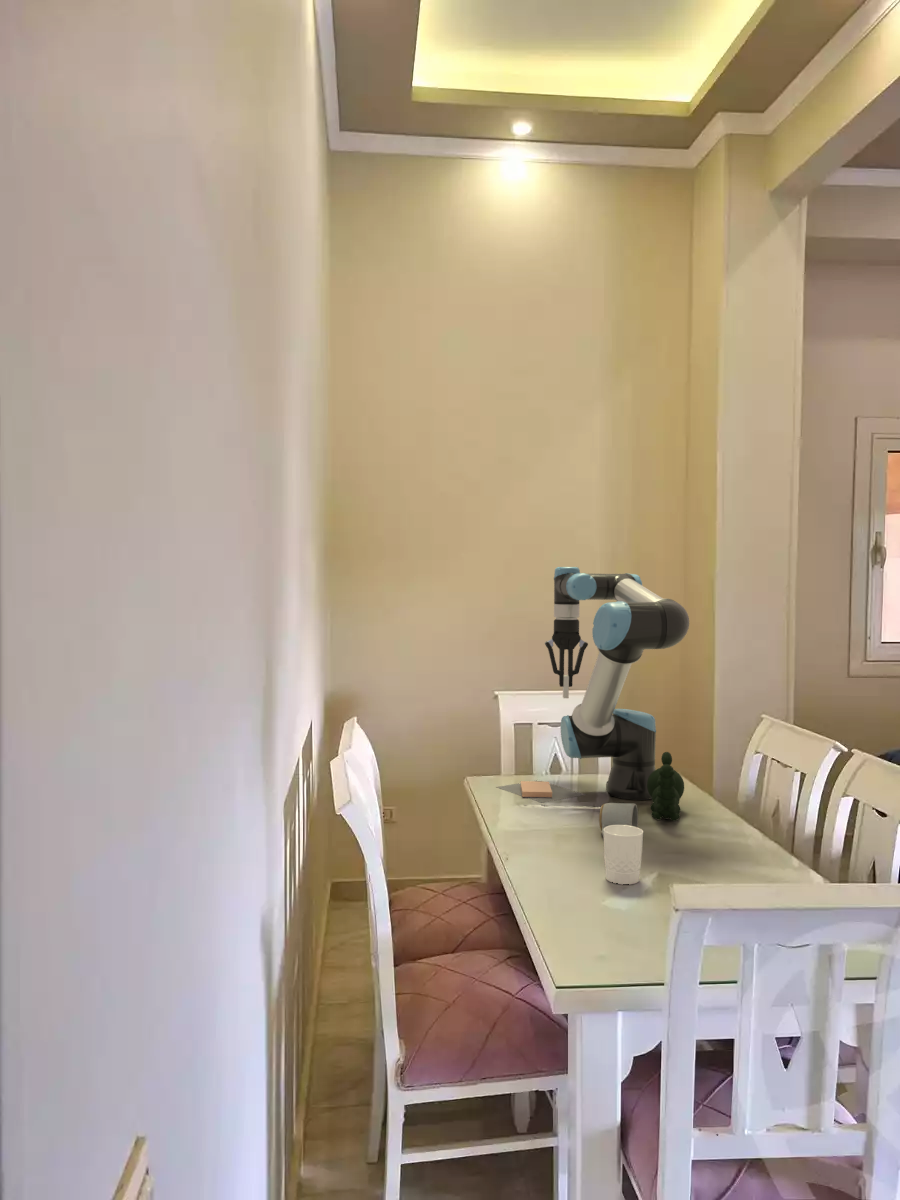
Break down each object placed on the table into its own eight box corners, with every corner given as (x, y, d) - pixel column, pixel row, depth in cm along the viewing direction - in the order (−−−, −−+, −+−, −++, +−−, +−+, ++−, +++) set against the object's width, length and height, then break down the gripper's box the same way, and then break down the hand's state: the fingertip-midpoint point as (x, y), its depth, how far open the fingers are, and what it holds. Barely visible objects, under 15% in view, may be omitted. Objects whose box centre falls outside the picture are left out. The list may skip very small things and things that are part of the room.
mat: (586, 797, 246) (586, 794, 246) (541, 805, 237) (541, 802, 237) (539, 782, 262) (539, 780, 262) (495, 789, 253) (495, 787, 253)
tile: (520, 781, 254) (522, 791, 242) (548, 781, 253) (552, 792, 241) (520, 786, 254) (522, 797, 242) (548, 787, 254) (552, 798, 242)
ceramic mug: (604, 828, 216) (604, 797, 216) (638, 832, 213) (638, 800, 213) (594, 841, 207) (595, 808, 206) (630, 845, 204) (630, 812, 203)
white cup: (614, 870, 186) (615, 822, 186) (649, 878, 181) (650, 829, 181) (595, 879, 180) (596, 830, 180) (630, 889, 175) (631, 838, 175)
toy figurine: (685, 836, 216) (682, 801, 241) (687, 760, 214) (684, 732, 238) (645, 833, 218) (647, 798, 243) (646, 757, 216) (648, 730, 240)
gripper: (587, 618, 270) (586, 696, 271) (543, 617, 270) (542, 695, 271) (590, 619, 263) (589, 699, 263) (545, 619, 263) (544, 699, 264)
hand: (565, 697), depth 267 cm, fingers closed
